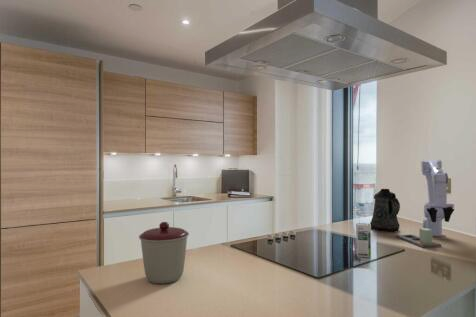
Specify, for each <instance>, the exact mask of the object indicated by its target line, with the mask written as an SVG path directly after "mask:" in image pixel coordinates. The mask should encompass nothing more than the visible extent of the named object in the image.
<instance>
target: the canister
mask: <svg viewBox="0 0 476 317" xmlns="http://www.w3.org/2000/svg"><path fill="white" fill-rule="evenodd" d="M189 235H190V232H188V231H187V230H186V229H183V228H181V227H175V226H174V227H173V226H172V227H171V226H170V223H169V222H167V221H161V222H160V223H159V227H155V228H150V229H147V230H145V231H143V232H142V233H141V234H139V236H138V239H139V240H140V242H141V243H140V246H141V252H142V260H143V261H142V262H143V267H144V269H143V270H144V274H145V277H146V279H147V281H148V282H150V283H153V284H164V285H166V284H169V283H174V282H177V281H178V280H179V279H180V278H181V277H182V276H183V273H184V270H185V269H184V268H185V262H186V261H185V260H186V252H187V251H186V250H187V244H188V242H187V241H188V237H189Z"/></svg>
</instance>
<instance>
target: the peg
mask: <svg viewBox="0 0 476 317" xmlns="http://www.w3.org/2000/svg"><path fill="white" fill-rule="evenodd" d="M419 237H420V242H421V243H423V244H432V241H433V236H432V230H431V229H427V228H423V227H421V228H419Z"/></svg>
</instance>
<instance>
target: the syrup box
mask: <svg viewBox="0 0 476 317" xmlns="http://www.w3.org/2000/svg"><path fill="white" fill-rule="evenodd" d="M355 227H356V228H355V231H356V232H355V234H356V235H355V236H356V237H355V238H356V239H355V240H356V242H355V244H356V256H357V258H361V257H362V258H372V247H371V244H372V243H371V239H372V238H371V237H372V236H371V235H372V234H371V230H372V229H371V225H370V222H368V223H367V222H355Z"/></svg>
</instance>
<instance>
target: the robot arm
mask: <svg viewBox="0 0 476 317" xmlns="http://www.w3.org/2000/svg"><path fill="white" fill-rule="evenodd" d="M442 165H443V163H442V160H441V159H422V160H421V173H422V175H423V176H425V179H426V184H427V185H426V186H427V194H428V202H427V203H425V204H424V206H423V216H424V219H423V222H422V228H427V229H431V230H432V237H446V236H447V234H444V233H443V220H444V222H447V223H449V222H450V219H451V216H452V214H453V212H454V211H455V204H454V203H447V202H448V201H447V200H448V199H447V185H448V183H449V175H448V173H447V172H444V170H443V169H442V167H443V166H442Z"/></svg>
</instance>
